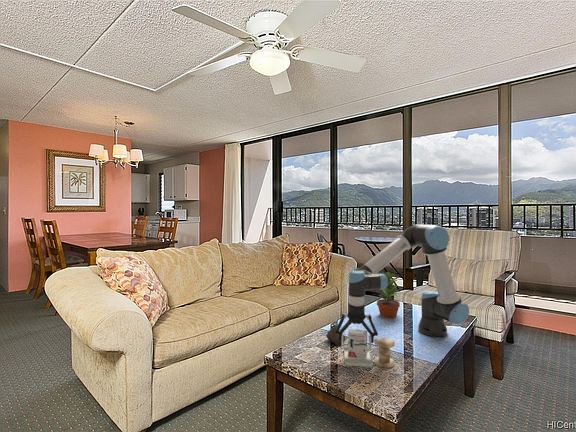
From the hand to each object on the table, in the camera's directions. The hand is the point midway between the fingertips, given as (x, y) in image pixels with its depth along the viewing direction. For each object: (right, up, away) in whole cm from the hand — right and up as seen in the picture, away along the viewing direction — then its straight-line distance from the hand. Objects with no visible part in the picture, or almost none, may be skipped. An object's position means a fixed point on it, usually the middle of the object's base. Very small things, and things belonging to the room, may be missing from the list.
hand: (356, 348), depth 154 cm
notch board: (+1, -5, 0) cm, 5 cm away
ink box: (+1, -3, 0) cm, 4 cm away
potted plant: (+34, -3, +60) cm, 69 cm away
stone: (-7, -4, +19) cm, 21 cm away
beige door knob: (+12, -5, -5) cm, 14 cm away
